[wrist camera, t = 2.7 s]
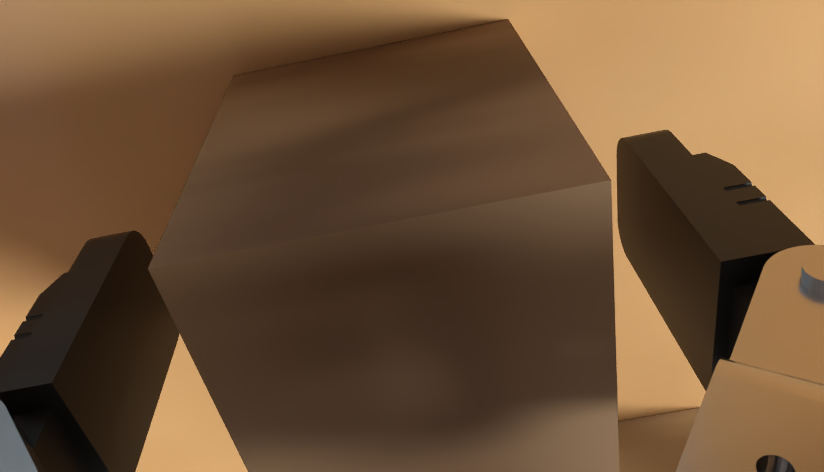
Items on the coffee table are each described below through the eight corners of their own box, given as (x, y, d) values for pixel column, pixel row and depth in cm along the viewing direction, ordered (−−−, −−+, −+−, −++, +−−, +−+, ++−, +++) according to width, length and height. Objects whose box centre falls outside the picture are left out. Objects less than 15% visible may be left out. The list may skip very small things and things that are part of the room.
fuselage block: (507, 18, 12) (610, 180, 7) (532, 247, 15) (619, 480, 10) (234, 74, 12) (147, 268, 7) (307, 289, 15) (281, 537, 10)
